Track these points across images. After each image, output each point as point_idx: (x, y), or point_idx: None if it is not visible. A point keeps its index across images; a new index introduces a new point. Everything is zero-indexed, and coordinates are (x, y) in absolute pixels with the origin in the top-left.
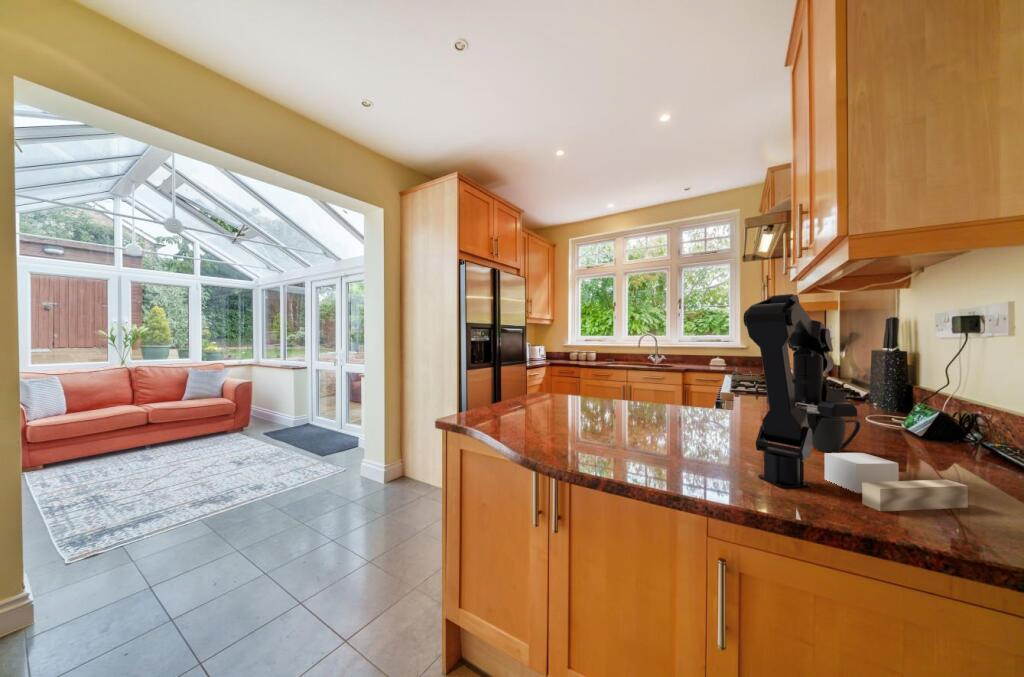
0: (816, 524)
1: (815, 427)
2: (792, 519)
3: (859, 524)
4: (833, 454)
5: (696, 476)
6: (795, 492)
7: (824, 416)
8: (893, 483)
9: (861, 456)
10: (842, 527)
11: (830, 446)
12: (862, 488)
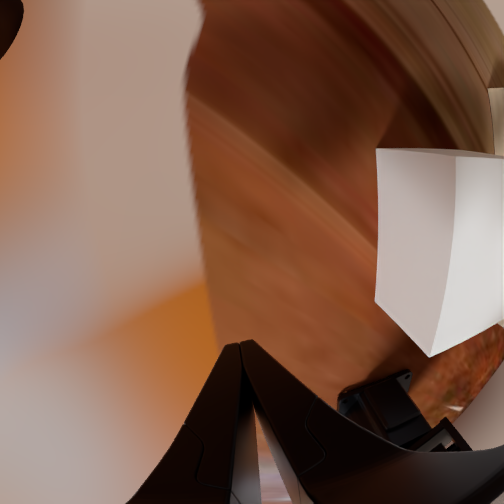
0: (474, 395)
1: (314, 403)
2: (458, 413)
3: (495, 353)
4: (448, 333)
5: None
6: (415, 396)
7: (454, 460)
8: None
9: (488, 230)
10: (488, 374)
11: (6, 24)
12: (500, 324)
